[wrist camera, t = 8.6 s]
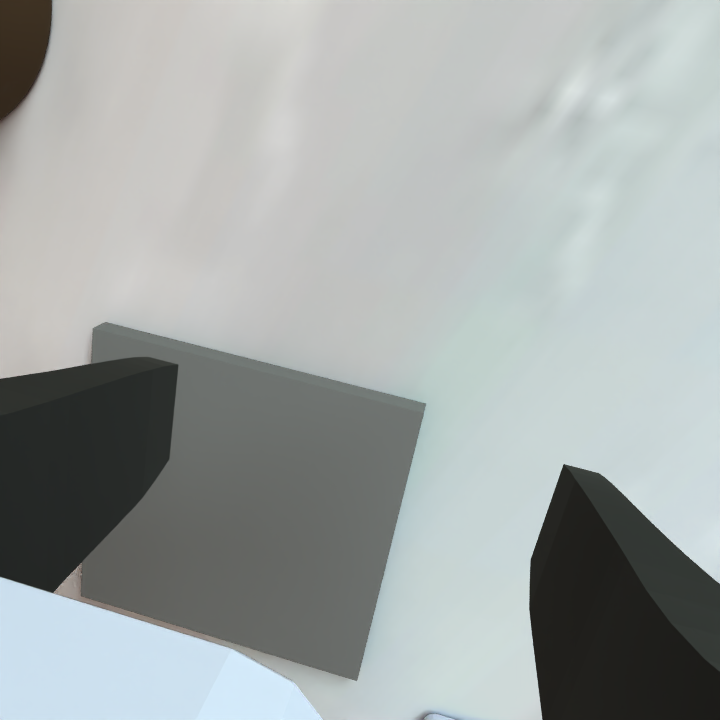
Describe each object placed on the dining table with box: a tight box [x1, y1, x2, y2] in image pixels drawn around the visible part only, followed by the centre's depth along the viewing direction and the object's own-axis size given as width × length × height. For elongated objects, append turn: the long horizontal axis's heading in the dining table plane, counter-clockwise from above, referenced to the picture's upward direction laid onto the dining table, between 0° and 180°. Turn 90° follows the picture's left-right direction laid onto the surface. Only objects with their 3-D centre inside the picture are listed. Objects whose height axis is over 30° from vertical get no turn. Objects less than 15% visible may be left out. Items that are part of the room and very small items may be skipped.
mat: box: [81, 322, 426, 681], centre depth 25 cm, size 12×12×1 cm
